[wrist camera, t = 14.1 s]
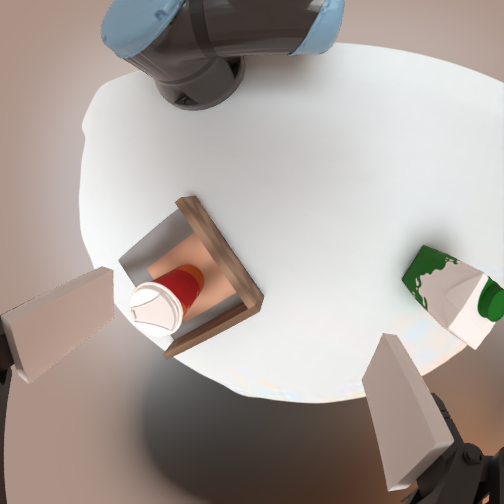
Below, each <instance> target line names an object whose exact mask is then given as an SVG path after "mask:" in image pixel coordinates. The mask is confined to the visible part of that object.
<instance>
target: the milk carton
mask: <svg viewBox="0 0 504 504" xmlns="http://www.w3.org/2000/svg"><path fill="white" fill-rule="evenodd" d="M402 281H403V282H404V284H405V285H406V286H407V288H408V289H409V291H410V292H411V293H412V295H413V296H414V297H415V299H416V300H417V301H418V302H419V303H420V304H421V305H422V306H423V307H424V308H425V309H426V311H427V312H428V313H429V314H430V315H431V316H432V317H433V318H434V319H435V320H436V321H437V322H438V323H439V324H440V325H441V326H442V327H444V328H445V329H446V330H448V331H449V332H450V333H452V334H453V335H454V336H456V337H457V338H459V339H460V340H462V341H463V342H465V343H466V344H468V345H469V346H471V347H472V348H473V349H477V347H478V346H479V345H480V343H481V342H482V340H483V339H484V337H485V336H486V335H488V333H489V332H490V331H491V329H492V327H493V325H494V324H495V322H496V321H498V320H500V319H501V317H503V315H504V289H503V288H501V287H500V286H499V285H498V284H497V283H496V282H495V281H493V280H492V279H491V278H490V277H489V276H487V275H486V274H485V273H484V272H482V271H480V270H478V269H476V268H474V267H472V266H470V265H468V264H466V263H464V262H462V261H460V260H458V259H456V258H454V257H452V256H450V255H448V254H445V253H443V252H440V251H438V250H435V249H432V248H429V247H427V246H424V245H423V247H422V248H421V250H420V252H419V253H418V255H417V257H416V258H415V260H414V261H413V263H412V265H411V266H410V268H409V269H408V271H407V272H406V274H405V275H404V277H403V278H402Z"/></svg>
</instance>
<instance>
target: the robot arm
mask: <svg viewBox="0 0 504 504" xmlns="http://www.w3.org/2000/svg"><path fill="white" fill-rule="evenodd" d="M344 3H345V2H344V0H114V1H113V3H112V4H111V5H110V7H109V9H108V10H107V12H106V14H105V16H104V18H103V21H102V25H101V38H102V40H103V42H104V44H105V45H106V46H107V47H108V48H110V49H111V50H112V51H114V52H115V54H116V55H117V56H118V57H120V58H122V59H124V60H126V61H127V62H129V63H131V64H132V65H134V66H135V67H137V68H139V69H140V70H142V71H143V72H145V73H146V74H148V75H150V76H151V77H153V78H154V80H155V82H156V84H157V87H158V89H159V91H160V93H161V95H162V96H163V97H164V98H165V99H166V100H167V101H168V102H170V103H171V104H173V105H175V106H176V107H178V108H181V109H185V110H203V109H207V108H210V107H213V106H215V105H217V104H219V103H221V102H222V101H224V100H225V99H227V98H228V97H229V96H230V95H231V94H232V93H233V92H234V91H235V90H236V89H237V87H238V86H239V84H240V82H241V80H242V78H243V75H244V68H245V65H244V59H243V56H244V55H265V54H287V55H288V56H294V55H296V54H322V53H324V52H326V51H328V50H329V49H330V48H331V47H332V46H333V44H334V42H335V41H336V38H337V36H338V33H339V30H340V26H341V22H342V18H343V12H344ZM113 318H114V299H113V270H111V269H108V268H105V267H100V268H98V269H95V270H93V271H91V272H89V273H87V274H84V275H82V276H80V277H78V278H76V279H73V280H71V281H69V282H67V283H65V284H63V285H61V286H59V287H56V288H54V289H52V290H50V291H48V292H46V293H44V294H42V295H40V296H38V297H36V298H33V299H31V300H29V301H27V302H26V303H23V304H21V305H20V306H17V307H15V308H13V309H12V310H10V311H8V312H6V313H4V314H2V315H0V504H7V500H6V492H5V481H4V431H5V418H6V409H7V400H8V394H9V388H10V382H11V377H12V370H11V366H12V365H13V364H15V366H16V369H17V372H18V374H19V376H20V377H22V378H23V379H24V380H25V381H26V382H27V383H29V384H30V383H32V382H33V381H34V380H35V379H36V378H38V377H39V376H40V375H41V374H43V373H44V372H45V371H46V370H48V369H49V368H50V367H51V366H53V365H54V364H55V363H56V362H58V361H59V360H60V359H62V358H63V357H64V356H65V355H67V354H68V353H69V352H70V351H72V350H73V349H74V348H75V347H77V346H78V345H79V344H81V343H82V342H83V341H85V340H86V339H87V338H89V337H90V336H91V335H92V334H94V333H95V332H96V331H98V330H99V329H100V328H101V327H103V326H104V325H106V324H107V323H108V322H109V321H111V320H112V319H113ZM362 382H363V386H364V389H365V393H366V397H367V400H368V404H369V407H370V411H371V415H372V419H373V423H374V427H375V431H376V436H377V440H378V444H379V449H380V453H381V458H382V462H383V467H384V472H385V477H386V483H387V488H388V491H392V490H399V489H405V488H407V487H408V486H410V485H411V484H412V483H413V482H414V481H415V480H417V484H418V487H417V488H415V489H414V490H413V491H412V492H410V493H409V494H408V495H407V496H405V497H404V498H403V499H402V500H401V502H404V501H405V500H406V499H408V500H407V502H406V503H405V504H482V501H483V499H484V498H486V497H487V496H488V495H489V501H488V502H487V503H486V504H504V447H503V448H501V449H500V450H499V451H498V452H497V453H496V454H495V456H484V455H483V453H482V451H481V450H480V449H479V448H478V447H477V446H475V445H474V444H470V443H464V442H463V440H462V438H461V436H460V434H459V432H458V430H457V428H456V426H455V424H454V422H453V420H452V419H450V415H449V413H448V411H447V409H446V407H445V405H444V403H443V402H442V401H441V400H440V398H439V397H438V396H437V395H435V393H430V391H429V389H428V388H427V386H426V384H425V382H424V380H423V379H422V377H421V375H420V373H419V372H418V370H417V368H416V366H415V365H414V363H413V361H412V359H411V358H410V356H409V354H408V353H407V351H406V349H405V348H404V346H403V344H402V343H401V341H400V340H399V338H398V336H397V335H391V334H385V333H383V335H382V337H381V339H380V342H379V344H378V346H377V349H376V351H375V353H374V355H373V357H372V360H371V362H370V364H369V366H368V368H367V370H366V372H365V374H364V376H363V378H362Z"/></svg>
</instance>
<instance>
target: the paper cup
mask: <svg viewBox="0 0 504 504" xmlns="http://www.w3.org/2000/svg"><path fill="white" fill-rule="evenodd" d="M203 287H204V277H203V274H202V273H201V271H200V270H199V269H198V268H197V267H195V266H193V265H182V266H180V267H178V268H176V269H174V270H172V271H170V272H168V273H166V274H164V275H162V276H160V277H158V278H157V279H155V280H153V281H151V282H146V283H142V284H140V285H139V286H138V287H137V288H136V289H135V290H134V292H133V294H132V297H131V300H130V307H131V313H132V316H133V318H134V319H135V323H136V325H137V326H138V327H139V328H140V329H141V330H142V331H144V332H145V333H147V334H149V335H151V336H156V337H161V336H166V335H170V334H172V333H174V332H175V331H177V329H178V328H179V327H180V325H181V322H182V318H183V317H184V316H185V314H186V313H187V311H188V310H189V308H190V307H191V306H192V304H193V303H194V301H195V300H196V298H197V297H198V295H199V294H200V292H201V291H202V289H203Z"/></svg>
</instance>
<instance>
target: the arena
mask: <svg viewBox="0 0 504 504" xmlns="http://www.w3.org/2000/svg"><path fill="white" fill-rule="evenodd" d="M175 203H176V205H177V206H178V208H179V209H178V210H176V211H175V212H174V213H173V214H171V215H170V216H169V217H168V218H166V219H165V220H164V221H163V222H162V223H160V224H159V225H158V226H157V227H156V228H154V229H153V230H152V231H151V232H150V233H148V234H147V235H146V236H145V237H144V238H143V239H141V240H140V241H139V242H138V243H137V244H136V245H135V246H133V247H132V248H131V249H130V250H129V251H128V252H127V253H126V254H124V255H123V256H122V257H121V258H120V259H119V260H118V261H119V262H120V264H121V266H122V267H123V269H124V270H125V272H126V273H127V275H128V276H129V278H130V279H131V281H132V282H133V284H134V285H135V287H136V288H137V287H138V286H139V285H140V284H142V283H146V282H151V281H153V280H155V279H157V278H158V277H160V276H162V275H164V274H166V273H168V272H170V271H172V270H174V269H176V268H178V267H180V266H182V265H193V266H195V267H197V268H198V269H199V270H200V271H201V273H202V274H203V277H204V287H203V289H202V291H201V292H200V294H199V295H198V297H197V298H196V300H195V301H194V303H193V304H192V306H191V307H190V308H189V310H188V311H187V313H186V314H185V316H184V317H183V318H182V322H181V325H180V327H179V328H178V329H177V331H175V332H174V333H172V334H170V335H171V336H172V338H173V339H174V341H173V342H172V344H171V345H170V346H169V347H168V349H167V350H166V351H165V353H164V354H163V355H164V356H165V357H166V359H169V358H171V357H173V356H175V355H177V354H179V353H182V352H184V351H186V350H188V349H190V348H192V347H194V346H196V345H198V344H200V343H202V342H204V341H205V340H207V339H209V338H211V337H213V336H215V335H217V334H219V333H221V332H223V331H225V330H227V329H229V328H230V327H232V326H234V325H236V324H238V323H240V322H242V321H243V320H245V319H247V318H249V317H251V316H253V315H254V314H256V313H258V312H260V309H261V306H262V302H263V299H264V295H263V294H262V293H261V291H260V290H259V288H258V287H257V285H256V284H255V282H254V281H253V280H252V278H251V277H250V275H249V274H248V272H247V271H246V270H245V268H244V267H243V265H242V264H241V262H240V261H239V259H238V258H237V256H236V255H235V254H234V252H233V251H232V249H231V248H230V246H229V245H228V243H227V242H226V240H225V239H224V237H223V236H222V235H221V233H220V232H219V230H218V229H217V227H216V226H215V224H214V223H213V221H212V220H211V218H210V217H209V215H208V214H207V212H206V211H205V209H204V208H203V206H202V205H201V204H200V202H199V201H198V199H197V198H196V196H192V197H181V198H180V199H178V200H177V201H176V202H175Z"/></svg>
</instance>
